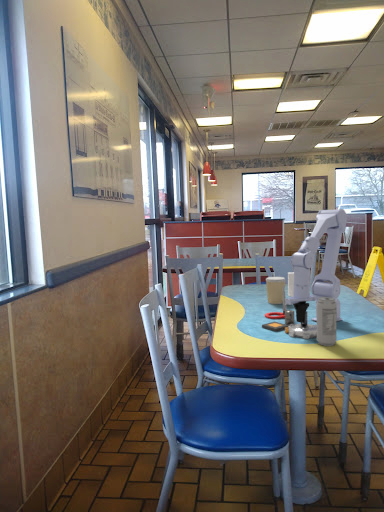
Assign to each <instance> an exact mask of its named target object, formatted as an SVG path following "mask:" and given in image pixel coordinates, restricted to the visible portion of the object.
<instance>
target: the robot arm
mask: <svg viewBox="0 0 384 512" xmlns="http://www.w3.org/2000/svg"><path fill="white" fill-rule="evenodd" d="M315 217H316V220H315V221H316V223H315V226H314V228H313V230H312V232H311V235H310V236H307V237H305V238H304V241H303V242H302V244H301V246H300V247H299V249H298V251H296V252H294V253H293V254H292V255H291V257H290V261H289V262H290V265H291V268H292V269H291V271H292V272H294V286H293V297H291V296H289V297H288V298H286V305H290V306H291V305H292V307H294V310H295V317H296V322H297V323H299V324H301V323H302V322H305V314H306V311H307V310H308V308H309V307H310V303H309V302H312V301H314V302H315V317H312V318H311V321H315V322H317V302H318V300H319V297H332V298H334V300H335V302H336V304H337V321H336V322H340V321H342V320H343V318H341V301H340V300H339V296H340V294H341V280H340V278H338V277H337V276H336V274H335V273H336V269H337V263H338V258H339V252H340V249H341V248H340V246H341V242H342V236H343V233H344V232H345V231H346V228H347V221H348V216H347V212H346V211H345V210H344V208H340V209H320V210H318V212H317V214H316V216H315ZM325 233H326V234H327V239H326V242H325V243H326V244H325V250H324V255H323V259H322V266H321V272H319V273H318V274H317V275H315V276H314V279H313V282H312V284H311V268H312V267H314V266H313V265H314V263H315V257H316V253H317V251H318V250H319V248H320V246H321V243H320V240H321V239H322V237H323V235H324V234H325ZM310 293H311V294H310Z"/></svg>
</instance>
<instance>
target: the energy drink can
mask: <svg viewBox="0 0 384 512" xmlns="http://www.w3.org/2000/svg"><path fill="white" fill-rule="evenodd" d="M337 322H338V321H337V304H336V302H335V300H334V298H332V297H319V300H318V302H317V321H316V325H317V337H316V341H317V342H318V344H319V345H320V346H324V347H333V346H335V344H336V343H337Z"/></svg>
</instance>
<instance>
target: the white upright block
mask: <svg viewBox="0 0 384 512" xmlns="http://www.w3.org/2000/svg"><path fill="white" fill-rule="evenodd" d="M293 286H294V272H293V271H292V272H287V295H288V297H293Z"/></svg>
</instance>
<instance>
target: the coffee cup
mask: <svg viewBox="0 0 384 512" xmlns="http://www.w3.org/2000/svg"><path fill="white" fill-rule="evenodd" d="M265 282H266V283H265V286H266V293H267V303H268V304H271V305H281V304H282V305H283V294H282V291H283V286H284V287H286V278H285V277H283V276H269V277H266V278H265Z"/></svg>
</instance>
